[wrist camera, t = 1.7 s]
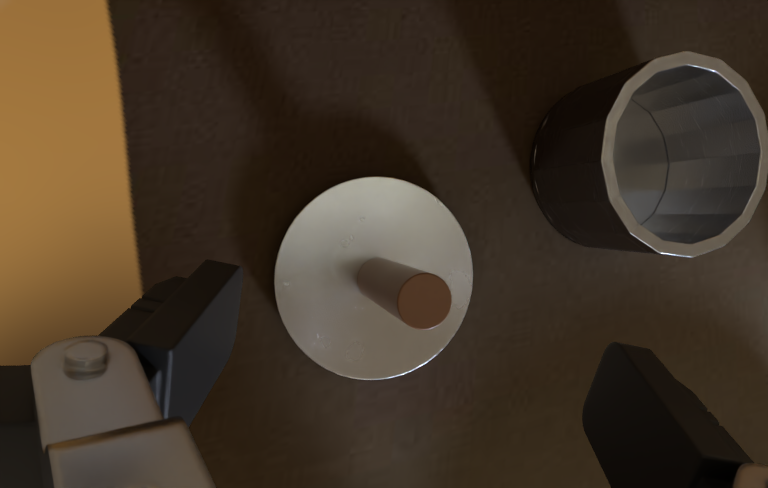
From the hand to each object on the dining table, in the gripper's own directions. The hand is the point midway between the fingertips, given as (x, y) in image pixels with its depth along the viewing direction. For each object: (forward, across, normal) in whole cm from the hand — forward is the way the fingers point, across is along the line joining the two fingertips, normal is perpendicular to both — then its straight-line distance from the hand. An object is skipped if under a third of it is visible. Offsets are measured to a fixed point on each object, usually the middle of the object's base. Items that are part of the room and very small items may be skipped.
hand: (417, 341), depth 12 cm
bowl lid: (+18, +1, +6) cm, 19 cm away
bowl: (+24, -12, -2) cm, 27 cm away
